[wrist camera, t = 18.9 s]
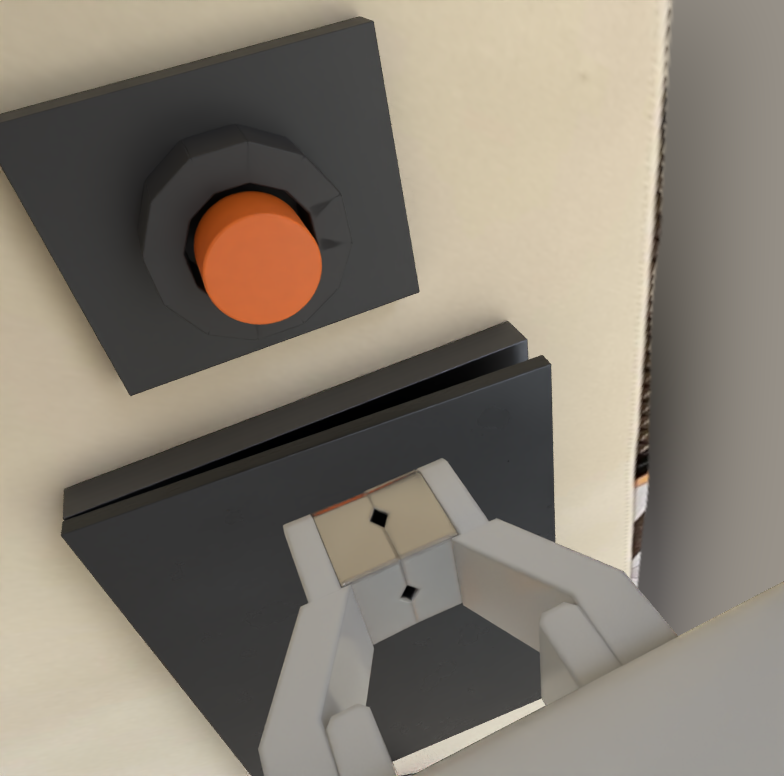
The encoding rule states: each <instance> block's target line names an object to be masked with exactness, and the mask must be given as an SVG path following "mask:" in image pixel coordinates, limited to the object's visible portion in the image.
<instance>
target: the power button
mask: <svg viewBox="0 0 784 776" xmlns="http://www.w3.org/2000/svg"><path fill="white" fill-rule="evenodd" d="M194 254H195V259H196V262H197V265H198V268H199V271H200V274H201V277H202V280H203V283H204V286H205V290H206V292H207V294H208V296H209V298H210V299H211V301H212V302H213V304H214V305H215V306H216V307H217V308H218V309H219V310H220V311H222V312H223V313H224V314H226V315H227V316H229V317H231V318H233V319H235V320H237V321H240V322H244V323H248V324H258V325H261V324H271V323H275V322H279V321H282V320H284V319H287V318H289V317H291V316H292V315H294V314H296V313H297V312H298V311H300V310H301V309H302V308H303V307H304V306H305V305H306V304H307V303H308V302H309V301H310V299H311V298H312V296H313V295H314V293H315V291H316V289H317V287H318V284H319V282H320V278H321V272H322V259H321V254H320V250H319V247H318V245H317V243H316V241H315V239H314V237H313V236H312V235H311V233H310V232H309V230H308V229H307V228H306V226H305V225H304V224H303V222H302V221H301V219H300V218H299V217H298V215H297V214H296V212H295V211H294V210H293V209H292V208H291V207H290V206H289V205H288V204H287V203H286V202H284V201H283V200H281V199H280V198H278V197H276V196H273V195H271V194H268V193H265V192H259V191H243V192H238V193H234V194H231V195H228V196H226V197H224V198H222V199H220V200H219V201H217V202H216V203H215V204H213V205H212V206H211V207H210V208H209V209H208V210H207V211H206V213H205V214H204V215H203V217H202V218H201V220H200V222H199V224H198V226H197V229H196V232H195V236H194Z"/></svg>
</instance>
